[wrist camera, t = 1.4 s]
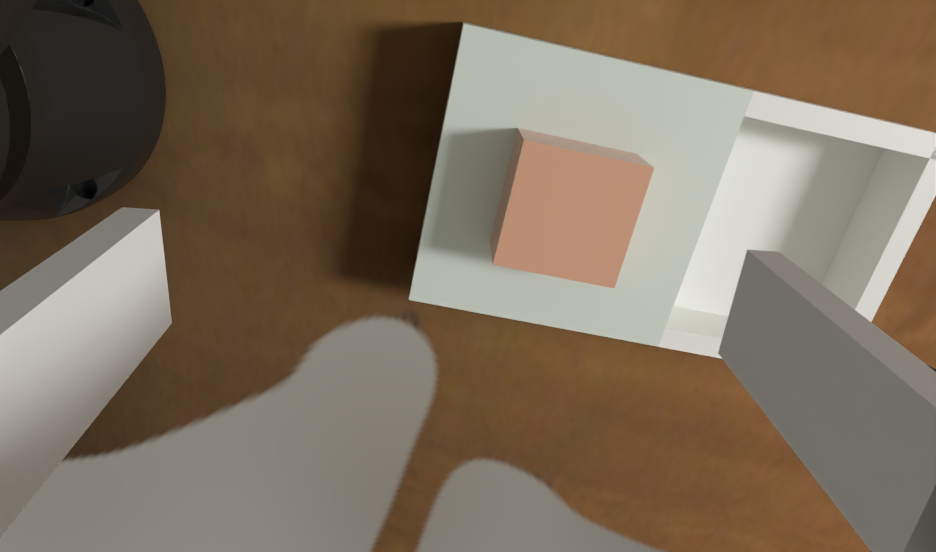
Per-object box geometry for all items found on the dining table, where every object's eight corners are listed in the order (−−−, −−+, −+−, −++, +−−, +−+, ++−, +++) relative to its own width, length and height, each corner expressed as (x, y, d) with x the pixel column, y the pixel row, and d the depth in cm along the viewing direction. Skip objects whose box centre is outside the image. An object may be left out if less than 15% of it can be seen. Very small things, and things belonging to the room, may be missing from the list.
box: (639, 314, 39) (658, 346, 36) (721, 82, 34) (753, 91, 30) (805, 346, 40) (841, 381, 37) (910, 125, 35) (963, 139, 31)
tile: (489, 243, 33) (492, 264, 30) (517, 127, 31) (523, 139, 28) (601, 265, 34) (614, 288, 31) (636, 153, 31) (654, 167, 29)
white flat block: (413, 271, 38) (408, 299, 34) (462, 21, 33) (464, 23, 29) (639, 314, 39) (658, 346, 36) (721, 82, 34) (753, 91, 30)
